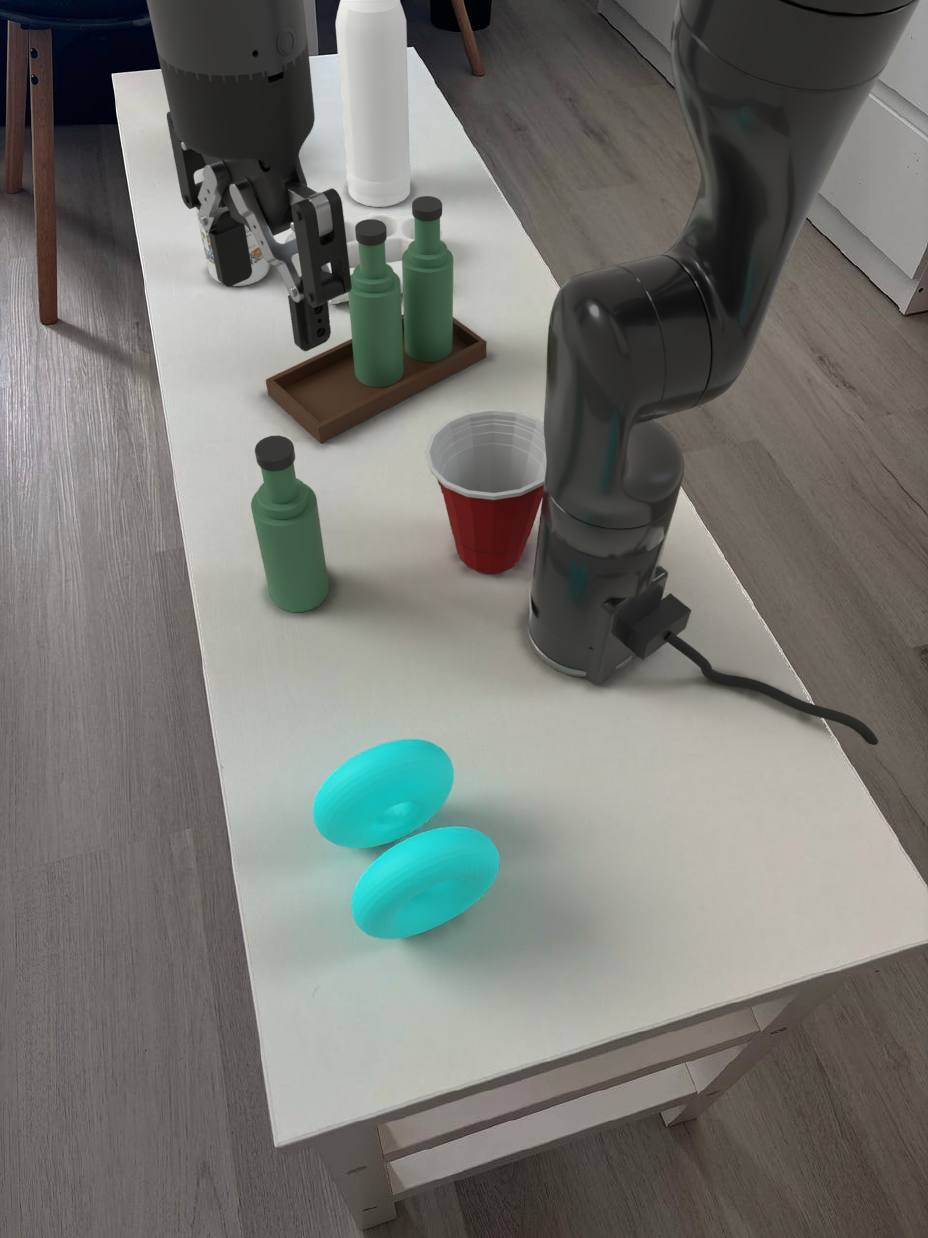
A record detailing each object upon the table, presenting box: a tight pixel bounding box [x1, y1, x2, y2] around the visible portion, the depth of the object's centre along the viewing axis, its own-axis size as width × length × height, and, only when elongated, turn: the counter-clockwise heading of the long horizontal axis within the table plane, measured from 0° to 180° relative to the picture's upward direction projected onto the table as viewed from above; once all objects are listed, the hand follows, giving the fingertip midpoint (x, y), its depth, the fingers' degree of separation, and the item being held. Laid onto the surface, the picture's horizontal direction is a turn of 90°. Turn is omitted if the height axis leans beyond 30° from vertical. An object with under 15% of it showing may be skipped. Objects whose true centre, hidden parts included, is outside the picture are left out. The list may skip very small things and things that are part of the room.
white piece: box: [284, 212, 443, 305], centre depth 111 cm, size 3×18×15 cm
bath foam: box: [194, 168, 271, 287], centre depth 104 cm, size 7×7×20 cm
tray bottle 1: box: [348, 219, 404, 387], centre depth 94 cm, size 5×5×16 cm
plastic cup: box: [424, 407, 547, 575], centre depth 82 cm, size 11×11×12 cm
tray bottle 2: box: [402, 195, 454, 362], centre depth 97 cm, size 5×5×16 cm
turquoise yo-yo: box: [312, 738, 501, 940], centre depth 64 cm, size 10×10×10 cm
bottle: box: [335, 0, 412, 208], centre depth 111 cm, size 8×8×30 cm
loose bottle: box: [250, 435, 330, 613], centre depth 77 cm, size 5×5×16 cm
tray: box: [265, 313, 488, 444], centre depth 100 cm, size 9×21×2 cm, turn 130°
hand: (273, 311), depth 62 cm, fingers open, 8 cm apart
